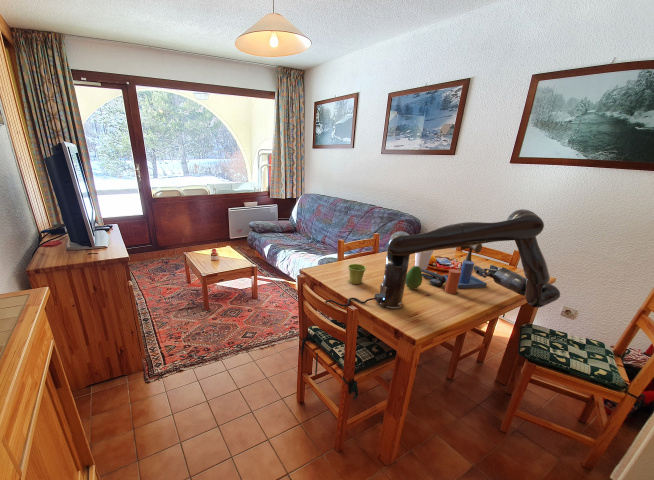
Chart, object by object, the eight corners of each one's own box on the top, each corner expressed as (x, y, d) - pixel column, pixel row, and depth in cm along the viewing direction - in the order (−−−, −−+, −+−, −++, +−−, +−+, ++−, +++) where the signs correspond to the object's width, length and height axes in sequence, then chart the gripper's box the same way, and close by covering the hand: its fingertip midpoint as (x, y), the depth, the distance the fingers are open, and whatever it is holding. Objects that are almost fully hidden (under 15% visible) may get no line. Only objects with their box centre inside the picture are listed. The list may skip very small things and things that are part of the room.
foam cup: (430, 267, 186) (434, 246, 181) (428, 272, 178) (432, 250, 173) (413, 264, 190) (417, 244, 185) (410, 269, 183) (414, 248, 178)
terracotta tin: (448, 294, 151) (453, 273, 147) (442, 289, 156) (447, 269, 152) (458, 293, 152) (463, 272, 147) (452, 289, 156) (456, 268, 152)
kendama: (461, 265, 190) (469, 233, 182) (477, 270, 182) (485, 236, 174) (455, 266, 187) (462, 234, 179) (470, 271, 179) (479, 238, 172)
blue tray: (457, 288, 157) (458, 284, 157) (441, 278, 170) (442, 275, 169) (486, 287, 159) (487, 283, 158) (468, 277, 171) (469, 273, 171)
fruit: (421, 287, 159) (425, 265, 154) (419, 292, 153) (423, 270, 148) (405, 284, 162) (409, 262, 158) (402, 289, 156) (406, 267, 152)
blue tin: (462, 283, 162) (467, 264, 157) (456, 280, 166) (460, 260, 162) (471, 283, 162) (476, 263, 158) (465, 279, 167) (469, 260, 163)
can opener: (448, 286, 159) (450, 276, 157) (436, 288, 158) (438, 277, 156) (426, 274, 175) (428, 265, 173) (415, 275, 174) (417, 266, 172)
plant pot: (367, 282, 165) (369, 266, 162) (358, 287, 159) (360, 271, 155) (352, 277, 171) (353, 262, 168) (343, 282, 165) (344, 267, 161)
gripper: (526, 271, 135) (498, 259, 150) (496, 272, 133) (470, 260, 148) (521, 286, 138) (493, 273, 153) (491, 288, 136) (467, 274, 151)
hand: (482, 267), depth 150 cm, fingers open, 8 cm apart
